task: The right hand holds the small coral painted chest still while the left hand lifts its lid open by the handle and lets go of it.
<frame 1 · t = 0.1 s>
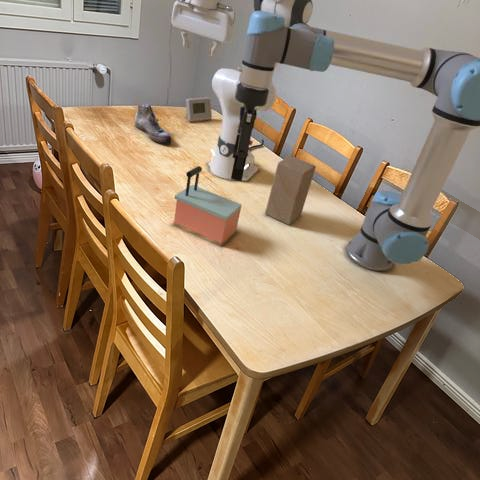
left hand: (198, 51, 131), 48 cm above the table, tool pointing down, fingers open, 8 cm apart
right hand: (236, 168, 114), 28 cm above the table, tool pointing down, fingers open, 13 cm apart
shoe: (153, 135, 198), on the table
wooden block: (282, 215, 157), on the table
digital clock: (197, 119, 227), on the table
lid: (210, 190, 133), point 14 cm above the table, hinge at 0.0°
chest: (204, 228, 140), on the table
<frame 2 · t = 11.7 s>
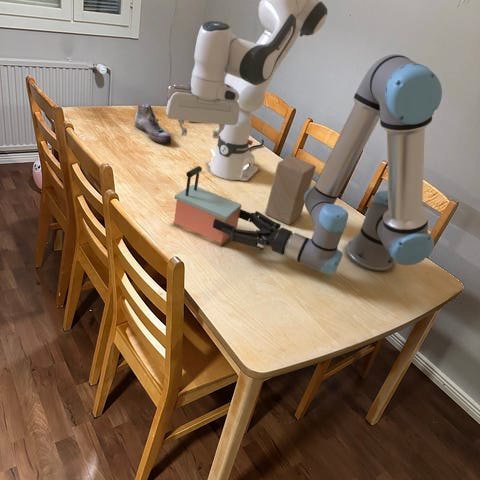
left hand: (199, 136, 127), 29 cm above the table, tool pointing down, fingers open, 8 cm apart
right hand: (222, 216, 135), 7 cm above the table, tool horizontal, fingers closed on chest, 10 cm apart
chest: (204, 228, 140), on the table, touching right hand
everything else where it was.
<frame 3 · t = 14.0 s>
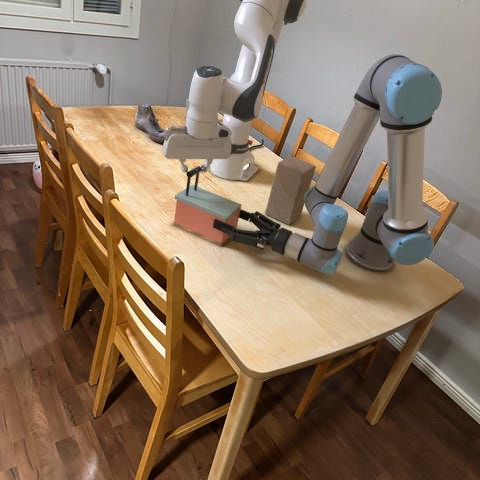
left hand: (194, 171, 132), 18 cm above the table, tool pointing down, fingers closed on lid, 5 cm apart
right hand: (222, 216, 135), 7 cm above the table, tool horizontal, fingers closed on chest, 10 cm apart
lid: (210, 190, 133), point 14 cm above the table, hinge at -0.1°, touching left hand
chest: (204, 228, 140), on the table, touching right hand
everything else where it was.
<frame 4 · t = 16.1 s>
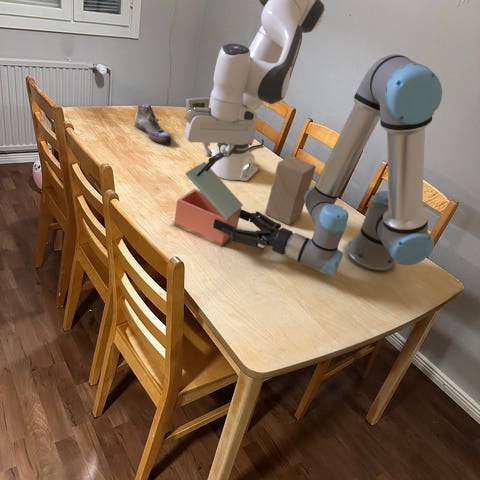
left hand: (216, 156, 127), 25 cm above the table, tool pointing down, fingers closed on lid, 4 cm apart
right hand: (223, 216, 135), 7 cm above the table, tool horizontal, fingers closed on chest, 10 cm apart
lid: (223, 182, 130), point 18 cm above the table, hinge at 30.3°, touching left hand
chest: (205, 228, 140), on the table, touching right hand
everything else where it was.
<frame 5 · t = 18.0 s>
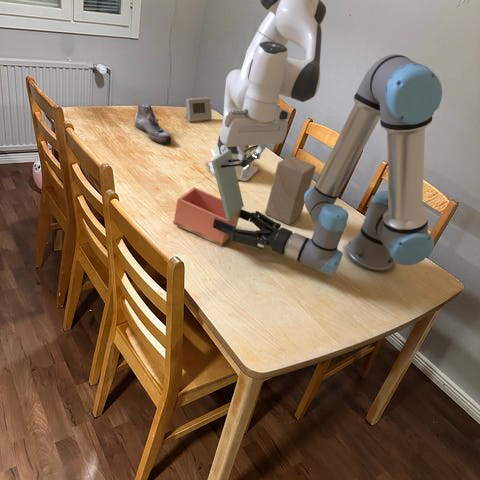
left hand: (248, 159, 122), 28 cm above the table, tool pointing down, fingers closed on lid, 4 cm apart
right hand: (222, 216, 135), 7 cm above the table, tool horizontal, fingers closed on chest, 10 cm apart
lid: (240, 183, 127), point 20 cm above the table, hinge at 61.4°, touching left hand
chest: (204, 227, 140), point 1 cm above the table, touching right hand
everything else where it was.
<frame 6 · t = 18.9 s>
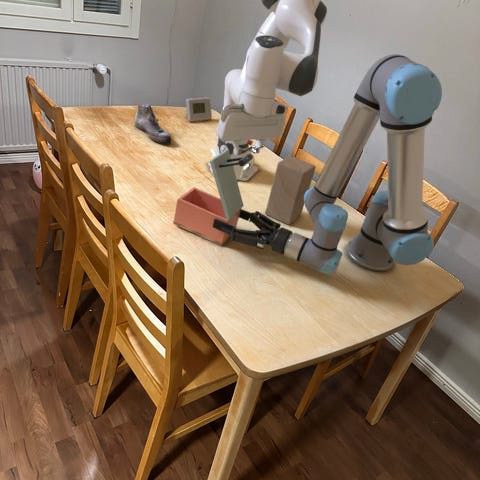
left hand: (246, 153, 122), 29 cm above the table, tool pointing down, fingers open, 5 cm apart
right hand: (222, 215, 135), 7 cm above the table, tool horizontal, fingers closed on chest, 10 cm apart
lid: (239, 182, 127), point 20 cm above the table, hinge at 59.6°
chest: (204, 227, 140), on the table, touching right hand
everything else where it was.
when the right hand's fingers open (7 cm above the table, at t = 22.0 s): chest stays where it is, on the table.
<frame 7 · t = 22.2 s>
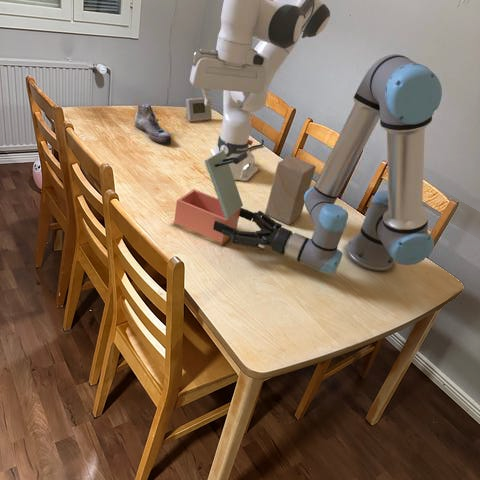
left hand: (223, 106, 119), 39 cm above the table, tool pointing down, fingers open, 8 cm apart
right hand: (224, 216, 135), 7 cm above the table, tool horizontal, fingers open, 12 cm apart
lid: (236, 181, 128), point 19 cm above the table, hinge at 57.6°
chest: (205, 228, 140), on the table
everything else where it was.
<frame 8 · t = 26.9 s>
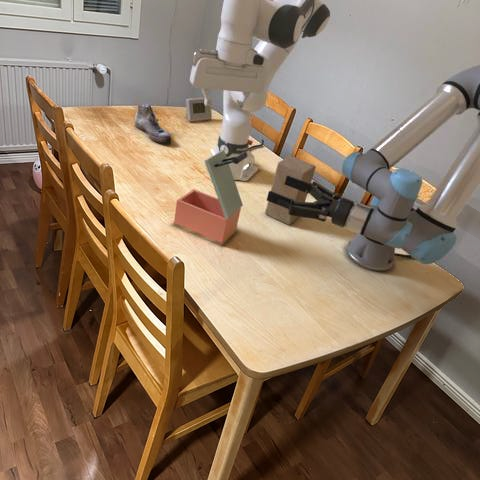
left hand: (223, 106, 119), 39 cm above the table, tool pointing down, fingers open, 8 cm apart
right hand: (277, 187, 123), 22 cm above the table, tool horizontal, fingers open, 13 cm apart
nothing on the table moved.
at the end: lid at +58° (first picture: +0°); the left hand is holding nothing; the right hand is holding nothing; chest tilted 0°; chest never tilted more than 4° during the clip; chest moved 0.1 cm from its start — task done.
